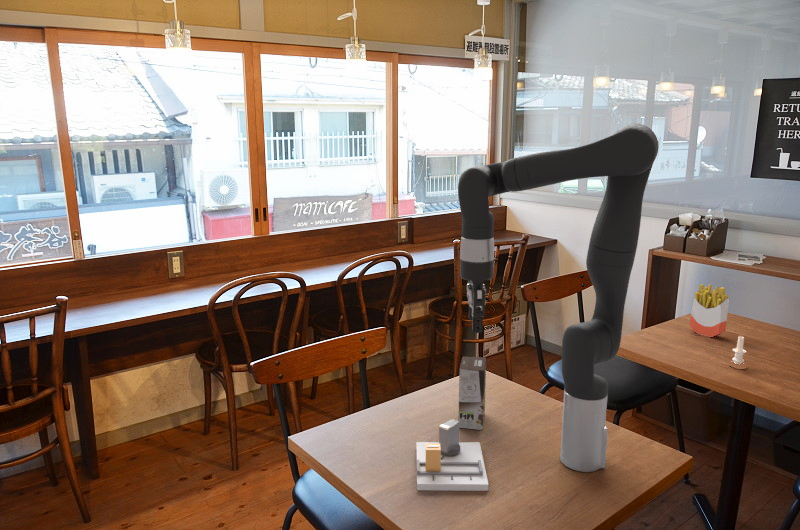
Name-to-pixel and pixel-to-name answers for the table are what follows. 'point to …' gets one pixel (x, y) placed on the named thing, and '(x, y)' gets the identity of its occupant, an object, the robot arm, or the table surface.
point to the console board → (453, 469)
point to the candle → (739, 351)
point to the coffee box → (472, 392)
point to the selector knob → (449, 438)
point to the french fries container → (709, 311)
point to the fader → (433, 457)
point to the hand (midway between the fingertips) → (475, 326)
